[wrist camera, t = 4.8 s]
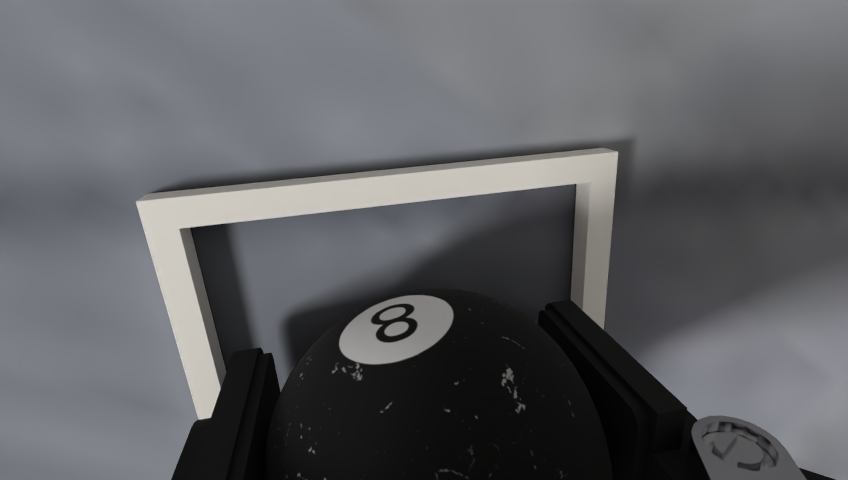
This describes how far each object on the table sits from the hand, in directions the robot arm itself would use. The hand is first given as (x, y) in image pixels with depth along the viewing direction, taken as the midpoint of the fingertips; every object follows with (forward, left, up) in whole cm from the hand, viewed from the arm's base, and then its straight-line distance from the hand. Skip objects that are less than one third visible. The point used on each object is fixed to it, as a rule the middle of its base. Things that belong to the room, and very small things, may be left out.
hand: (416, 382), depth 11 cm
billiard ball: (0, 0, -1) cm, 1 cm away
